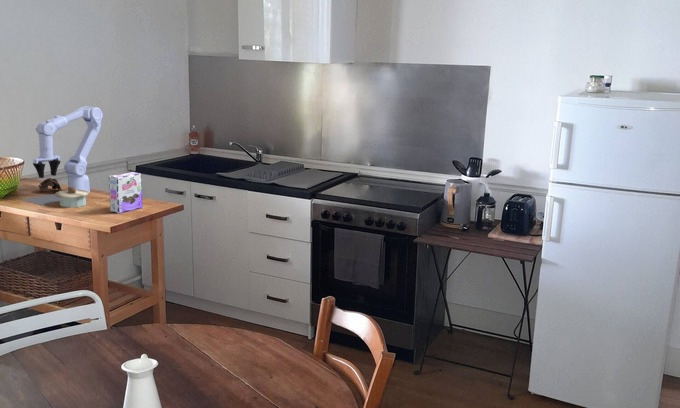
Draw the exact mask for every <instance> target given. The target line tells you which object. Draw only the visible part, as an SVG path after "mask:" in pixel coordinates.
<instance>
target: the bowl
mask: <svg viewBox="0 0 680 408" xmlns="http://www.w3.org/2000/svg"><path fill="white" fill-rule="evenodd" d="M59 199H60V202H59V206H61V207H63V208H75V209H77V208H83V207H85V206H86V205H87V197H86V196H84V197H78V198H60V197H59Z"/></svg>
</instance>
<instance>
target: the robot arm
mask: <svg viewBox="0 0 680 408" xmlns="http://www.w3.org/2000/svg"><path fill="white" fill-rule="evenodd" d="M81 118H82V120H84V122H85V124H86V125H87V128H86V130H85V133H84V135H83V137H82V139H81V141H80V142H79V145H78V147H77V149H76V151H75V153H74V155H72V156H71V157H69V159H68V161H66V162H65V163H64V164H63V165H64V166H63V170H64V172H65V173H66V175H67V184H68V185H67V186H68V187H75V188H76V190H86V191H88V194H89V193H90V194H91V191H90V190H91V189H90V187H91V185H90V179H89V176H88V175H87V174H86V172H87V166H88V162H87V157H88V155H89V153H90V152H91V149H92V146H93V145H94V143H95V141H96V138H97V137H98V134H99V133H100V131H101V127H102V119H103V118H104V114H103V112H102V110H101V108H99V107H96V106H94V107H93V106H89V105H84V106H83V105H82V107H78V109H75V110H73V111H72V112H70V113H68V114H66V115H64V116H62V115H54V118H51V119H46V121H45V122H44V121H40V122H39V123H38V124H37V126H36V128H35V131H36V133H37V134H38V142H39V145H38V147H39V156H38V157H36V158H33V159H32V161H33V162H32V165H33V167H34V168H35V170H36V172H37V175H38V178H40V179H44V178H45V166H46V163H47V162H48V164H49V168H50V176H53V177H55V176H57V171H58V168H59V166H60V164H61V156H60V155H57V154H56V155H54V143H53V136H54V133H55V132H57V131H59V130H61V129H64V128H66V127H67V125H68V123H70V122H73V121H76V120H78V119H81ZM45 162H46V163H45ZM68 187H67V188H68Z"/></svg>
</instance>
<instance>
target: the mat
mask: <svg viewBox="0 0 680 408" xmlns="http://www.w3.org/2000/svg"><path fill="white" fill-rule="evenodd" d="M21 201H24V202H27V203H31V204H34V205H37V206H46V205H50V204H57V203H60V199H59V197H56V196H55V193H54V194H52V193H51V194H46V195H45V194H44V195H39V196H34V197H29V198H23V199H21Z"/></svg>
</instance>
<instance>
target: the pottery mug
mask: <svg viewBox="0 0 680 408" xmlns="http://www.w3.org/2000/svg"><path fill="white" fill-rule="evenodd" d="M49 187H51V189H52V190H57V192H59V191H63V190H62V187H61V185H60V183H59V182H58V179H56V178H52V177H49V178H46V179H44V180H43V181H41V182H40V184H38V188H39V192H40V193H41V192H44V191H46V190H47V191H48V190H49Z"/></svg>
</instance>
